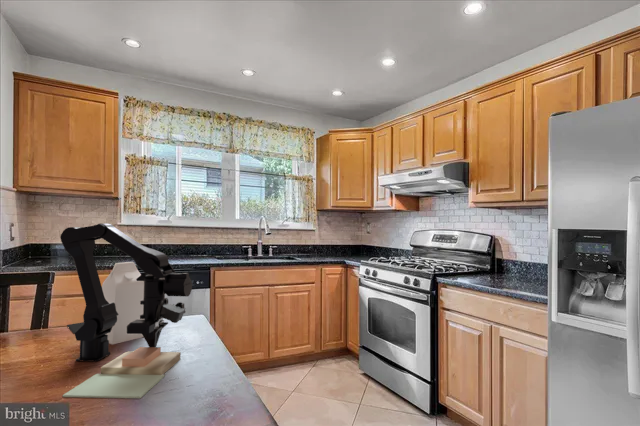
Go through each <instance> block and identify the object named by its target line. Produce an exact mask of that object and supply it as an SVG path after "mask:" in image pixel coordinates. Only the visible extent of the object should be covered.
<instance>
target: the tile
mask: <svg viewBox="0 0 640 426" xmlns="http://www.w3.org/2000/svg"><path fill="white" fill-rule="evenodd" d="M161 349H162V348H161V346H160V347H158V346H156V347H149V346H140V347H138V348H137V349H134V351H133V352H132V353H130V354H128V355H127V356H125V357H124V358H122V366H141V367H144V366H146V365H147V364H148V363H150V362H151V361H152V360H154V359H155V358H156V357H158V356H159V355H160V354H161V352H162V351H161Z"/></svg>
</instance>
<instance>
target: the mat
mask: <svg viewBox="0 0 640 426" xmlns="http://www.w3.org/2000/svg"><path fill="white" fill-rule="evenodd" d="M165 377H166V376H165V374H163V375H135V374H101V373H96V374H94V375H92V376H90V377H89V378H87V379H86V380H84V381H82V382H81V383H80V384H78V385H76V386H75V387H73V388H72V389H70V390H69V391H68V390H67V392H65V393H63V394H62V398H95V399H96V398H97V399H99V398H100V399H101V398H102V399H104V398H106V399H142V398H143V397H144V396H145V395H146V394H147V393H149V392H150V391H151V390H152V389H153V387H155V386H156V385H157V384H158V383H159V382H160V381H162V380H163V379H164V378H165Z"/></svg>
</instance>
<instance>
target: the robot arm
mask: <svg viewBox="0 0 640 426" xmlns="http://www.w3.org/2000/svg"><path fill="white" fill-rule="evenodd" d="M59 238H60V242H61V244H62V246H63V248H64V250H65V251H66V252H67V254H69V255H70V256H71V258H72V259H73V262H74V265H75V269H76V272H77V275H78V276H77V277H78V280H79V284H80V287H81V291H82V295H83V298H84V303H85V307H84V312H83V315H82V316H83V319H82V320H83V322H84V325H83V326H82V327H81V328H80V329H79V330H78V331H77V332H76V333H75V334H74V337H75V340H76V341H78V342H79V357H77V358H76V359H75V361H76V362H98V361H100V360H102V359H104V358H105V357H108V356H109V355H110V354H111V351H109V345H110V343H109V340H108V335H105V334H107V333H110V332H111V330H112V327H113V326H114V325H115V323H116V322H117V315H119V314H118V313H117V311H116V306H115V303H114V302H113V303H110V304H109V303H108V302H107V301H106V299H105V297H104V294H103V290H102V283H101V280H100V276H99V272H98V268H97V265H96V262H95V259H94V250H95V247H96V241H97V240H104V241H106V242H107V243H109V244H110V245H112V246H113V247H114V248H116V249H117V250H120V251H121V252H123V253H124V254H126V255H127V256H128V257H130V258H131V259H133V262H134V263H135V265H136V267H138V268H139V269H140V270H141V271H143V272H141V273H140V274H141V276H139V277H138V278H137V279H136V280H137V281H144V300H142V301H140V304H141V305H143V314H142V315H140V319H145V320H135V321H133V322H131V323H130V324H128V325H127V334H142V335H143V336H144V337H143V338H144V340H145V341H146V344H147V347H158V342H159V339H160V337H161V333H162V330H163V329H164V328H165V327H166V326H167V325H168V324H169V322H171V323H172V324H173V323H174V324H175V323H176V324H177V323H179V321H181V320H182V319H183V315H184V314H186V307H185V303H184V302H182V301H179V302H177V303H176V304H174V303H172V304H171V303H169V298H168V297H189V296H190V295H191V293H192V290H193V282H192V279H191V277H190V273H189V272H182V273H181V272H180V273H178V272H176V271H175V269H174V268H173V267H172V265H171V263H170V262H169V257H168V256H167V254H166V253H164V252H161V251H159V250H157V249H154V248H151V247H146V246H144V245H142V243H139V242H138V241H136V240H135V239H134V238H132V237H130V236H128V235H127V234H126V233H124V232H122V230H120V229H118V228H117V227H115V226H114V225H113V223H112V224H111V223H98V224H95V225H89V226H75V227H74V226H70V227H67V228H65V229H64V230H63V231H62V233H61V234H60V237H59ZM166 295H167V297H166ZM164 319H165V320H168V321H169V322H168V321H166V322H165V320H164Z"/></svg>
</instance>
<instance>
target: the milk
mask: <svg viewBox="0 0 640 426" xmlns="http://www.w3.org/2000/svg"><path fill="white" fill-rule="evenodd" d="M137 267H138V266H137V265H136V263H135V261H126V262H115V264H114V265H113V268H112V270H111V271H110V273H109V274H108V276H106V278H105V279H104V281H103V282H102V283H101V286H102V290H103V294H104V297H105V299H106V301H107V302H108V303H109V304H110V303H113V302H114V303H115V306H116V311H117V313H118V314H119V315H117V322H116V323H115V325H114V326H113V327H112V330H111V332H110V333H107V334H105V335H108V340H109V345H116V344H119V343H121V344H122V343H123V342H124V343H125V342H128V341H132V340H133V341H134V340H136V339H140V338H144V336H143V335H142V334H127V325H128V324H130V323H131V322H133V321H135V320H145V319H140V315H142V314H143V305H141V304H140V301H142V300H144V281H137V280H136V279H137V278H138V277H139V276H141V274H142V273H140V271H139V270H138V268H137Z"/></svg>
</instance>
